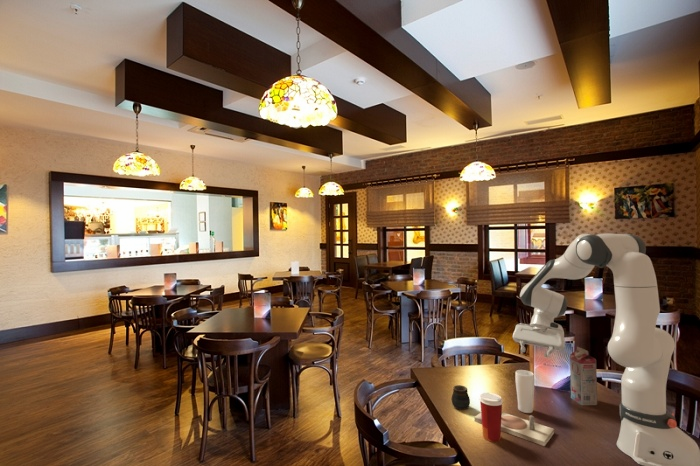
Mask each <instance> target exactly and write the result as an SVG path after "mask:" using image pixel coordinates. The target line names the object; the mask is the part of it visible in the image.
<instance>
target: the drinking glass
mask: <svg viewBox="0 0 700 466" xmlns="http://www.w3.org/2000/svg"><path fill="white" fill-rule="evenodd" d="M514 375H515V378H514V379H515V381H514V382H515V388H516V389H515V390H516V391H515V392H516V398H517V409H518V410H519V412H521V413H524V414H531V413H533V411H534V397H535V396H534V393H535V374H534V372H532V371H530V370H525V369H518V370H515V374H514Z"/></svg>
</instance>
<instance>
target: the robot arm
mask: <svg viewBox="0 0 700 466" xmlns="http://www.w3.org/2000/svg"><path fill="white" fill-rule="evenodd" d="M646 251H647V246H646V244H645V241H644V240H643V239H642V238H641V237H640V236H638V235H635V234H631V233H612V232H611V233H610V232H609V233H608V232H607V233H598V234H597V233H596V234H592V233H581V234H579V235H577V237H575V239H573V240H572V241H571V243H569V245H568V246H567V248H566V250H565V251H564V252H563V254H562V255H561V256H560V257H557V258H556V259H555V258H554V259H550V260H548V261H547V262H546V263H545V264H544V265H543V266H542V267H541V268H539V270H538V272H536V274H535V275H534V276H533V277H532V278H531V279H530V280H529V281H528V282H527V283H526V284H525V285H524V286H523V287H522V288H521V289H520V293H519V300H520V301H521V303H523V305H524V306H529V307H532V308H534V309H533V315H532V317H531V319H530V323H523V322H520V323H517V324H516V325H515V328H514V331H513V334H512V339H513V341H514V342H515V343H519V345H520V350H519V351H520V352H521V353H525V352H526V347H525V345H530V346H535V347H540V348H545V349H548V350H544V353H543V356H544V357H545V358H550V355H551V354H553V352H554V351H560V352H561V351H564V350H565V346H566V340H565V331H564V328H563V326H562V325H561V324H559V323H556V322H554V320H555V319H557V318H560V317H562V316H563V315H564V314H565V313H566V311H567V307H568V300H567V298H566V296H565V295H563V294H561V293H559V292H556V291H554V290H550V289H548V288H545V287H542V286H543V285H544V284H545V283H546V282H547V281H548V280H550V279H567V280H580V279H584V278H585V277H587V276H588V275H590V274H591V272H592V271H593V270H594V268H595V267H598V268H599V269H604V268H605V267H607V268H609V269H610V271H611V272H612V274H613V285H614V286H613V287H614V297H615V298H614V299H615V317H614V325H613V331H612V335H611V336H610V339H609V341H608V343H607V352H608V354H609V357H611V359H612V360H613V361H614V362H615V363H616V364H618V365H619V366H622V367H623V368H625V369H624V372H623V373H622V375H621V379H620V383H621V386H620V387H621V389H620V391H621V401H620V403H619V416H620V420H621V421H620V422H621V423H620V428H619V435H618V438H617V441H616V446H617V448H618V449H619V450H620V451H621V452H623V453H624V454H625V455H627V456H629V457H631V458H632V460H634V462H636V463H637V464H638V465H641V466H700V447H699V446H698V443H697V442H696V440H694V439H693V438H692V437H691V436H689V435H688V434H687V433H685V432H684V431H682V429H680V428H679V427H677V421H676V417H675V414H674V413H673V412H672V413H670V412H669V411H668V410H667V392H666V391H667V381H668V375H669V372H670V365H671V360H672V356H673V353H674V351H675V349H676V343H675V339H674V338H673V336H672V335H671V334H670V333H669V332H668V331H666V330H665V329H662V328H661V327H660V328H659V327H657V326H656V325H657V321H658V318H659V317H658V316H659V315H660V312H661V307H660V297H659V289H658V282H657V276H656V272H655V268H654V266H653V261H652V260H651V258H650V257H649V256H648V255H647V254H646Z"/></svg>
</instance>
